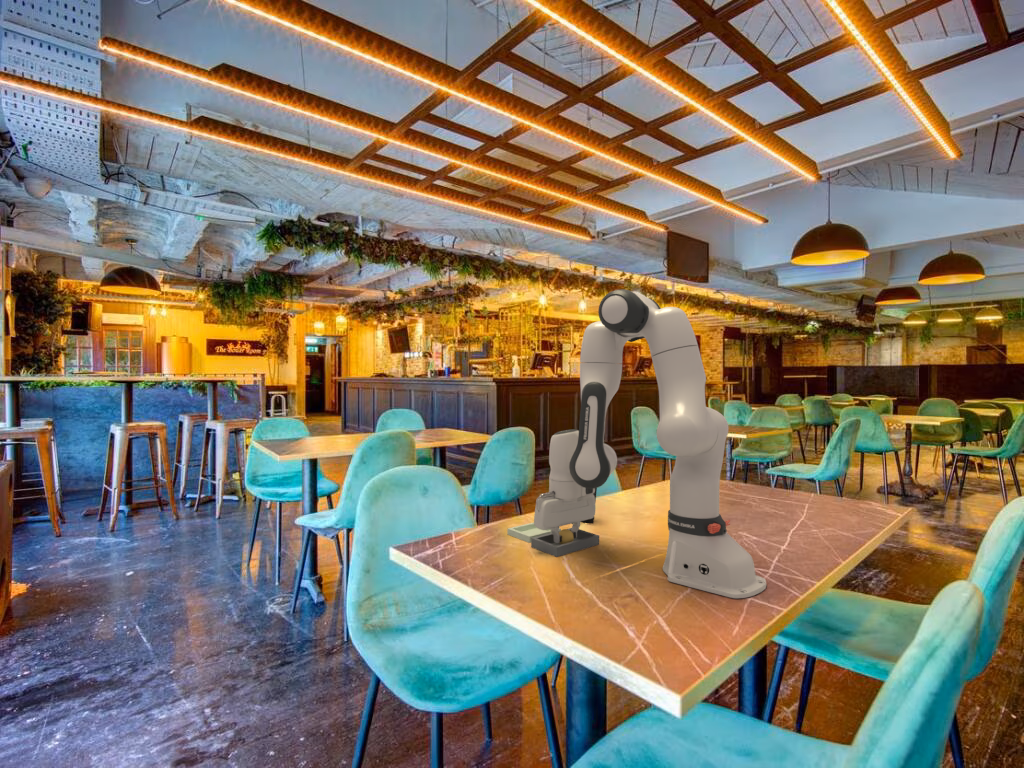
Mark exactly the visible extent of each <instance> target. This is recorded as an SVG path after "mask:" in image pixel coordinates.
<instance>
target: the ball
mask: <svg viewBox="0 0 1024 768" xmlns="http://www.w3.org/2000/svg"><path fill="white" fill-rule="evenodd" d="M568 529H569V528H565V529H561V531H560V532H559V535H561V536H562V542H559V543H560V544H565V543H569V542H572V541H573V540H574V536H573V533H572V532H571V531H570V530H568Z"/></svg>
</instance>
